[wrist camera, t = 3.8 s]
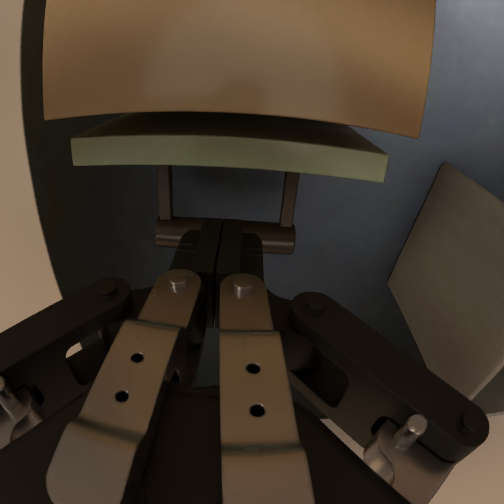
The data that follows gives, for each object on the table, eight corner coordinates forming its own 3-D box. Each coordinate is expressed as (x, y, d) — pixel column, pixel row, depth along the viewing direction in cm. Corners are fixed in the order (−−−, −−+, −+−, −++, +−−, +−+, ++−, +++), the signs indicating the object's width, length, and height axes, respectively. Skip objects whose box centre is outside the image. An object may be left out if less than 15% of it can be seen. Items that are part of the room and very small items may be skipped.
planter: (356, 204, 22) (496, 479, 6) (447, 160, 20) (646, 350, 4) (404, 337, 30) (465, 512, 13) (469, 303, 27) (552, 461, 11)
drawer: (324, 215, 21) (355, 289, 15) (137, 204, 21) (91, 272, 14) (356, -56, 11) (408, -105, 5) (147, -66, 11) (96, -117, 4)
